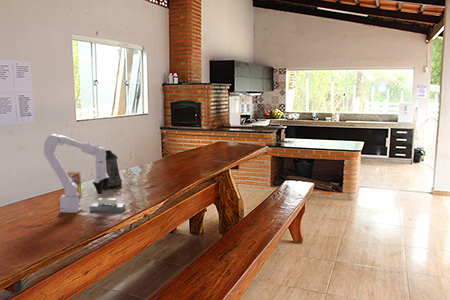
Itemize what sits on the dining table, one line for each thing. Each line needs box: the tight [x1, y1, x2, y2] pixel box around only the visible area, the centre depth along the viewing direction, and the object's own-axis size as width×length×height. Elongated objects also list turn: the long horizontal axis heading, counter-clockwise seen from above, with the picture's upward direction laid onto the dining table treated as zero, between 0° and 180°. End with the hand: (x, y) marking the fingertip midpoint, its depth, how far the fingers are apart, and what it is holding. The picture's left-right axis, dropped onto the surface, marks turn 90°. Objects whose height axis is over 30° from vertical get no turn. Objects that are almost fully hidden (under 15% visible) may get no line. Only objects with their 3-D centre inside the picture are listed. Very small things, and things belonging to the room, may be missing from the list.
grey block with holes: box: [89, 202, 126, 213], centre depth 225 cm, size 18×7×3 cm, turn 86°
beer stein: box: [100, 149, 123, 191], centre depth 271 cm, size 16×19×25 cm
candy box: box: [66, 171, 82, 198], centre depth 250 cm, size 9×4×15 cm, turn 96°
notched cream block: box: [97, 197, 118, 206], centre depth 225 cm, size 10×3×6 cm, turn 86°
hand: (102, 192), depth 227 cm, fingers open, 7 cm apart
